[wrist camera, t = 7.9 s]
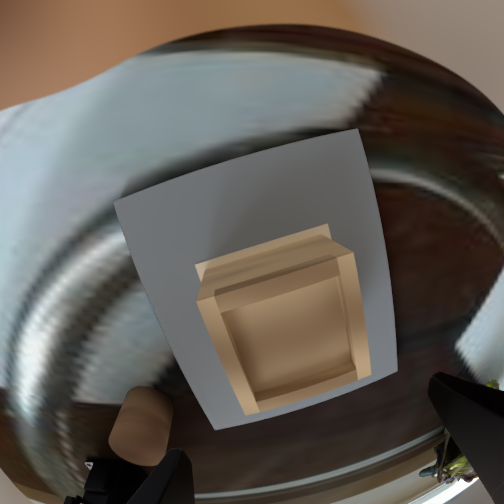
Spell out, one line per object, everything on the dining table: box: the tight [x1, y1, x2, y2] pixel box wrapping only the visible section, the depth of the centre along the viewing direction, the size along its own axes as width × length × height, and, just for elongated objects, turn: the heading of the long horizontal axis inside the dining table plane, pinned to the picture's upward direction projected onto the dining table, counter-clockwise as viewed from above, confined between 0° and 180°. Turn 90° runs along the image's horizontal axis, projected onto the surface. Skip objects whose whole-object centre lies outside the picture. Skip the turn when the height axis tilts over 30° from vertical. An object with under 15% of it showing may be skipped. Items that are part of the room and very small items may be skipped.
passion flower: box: [419, 380, 499, 484], centre depth 21 cm, size 11×11×12 cm
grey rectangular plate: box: [113, 129, 397, 430], centre depth 18 cm, size 18×15×1 cm
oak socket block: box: [196, 234, 371, 416], centre depth 15 cm, size 7×7×5 cm
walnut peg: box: [109, 387, 174, 466], centre depth 18 cm, size 4×4×5 cm
